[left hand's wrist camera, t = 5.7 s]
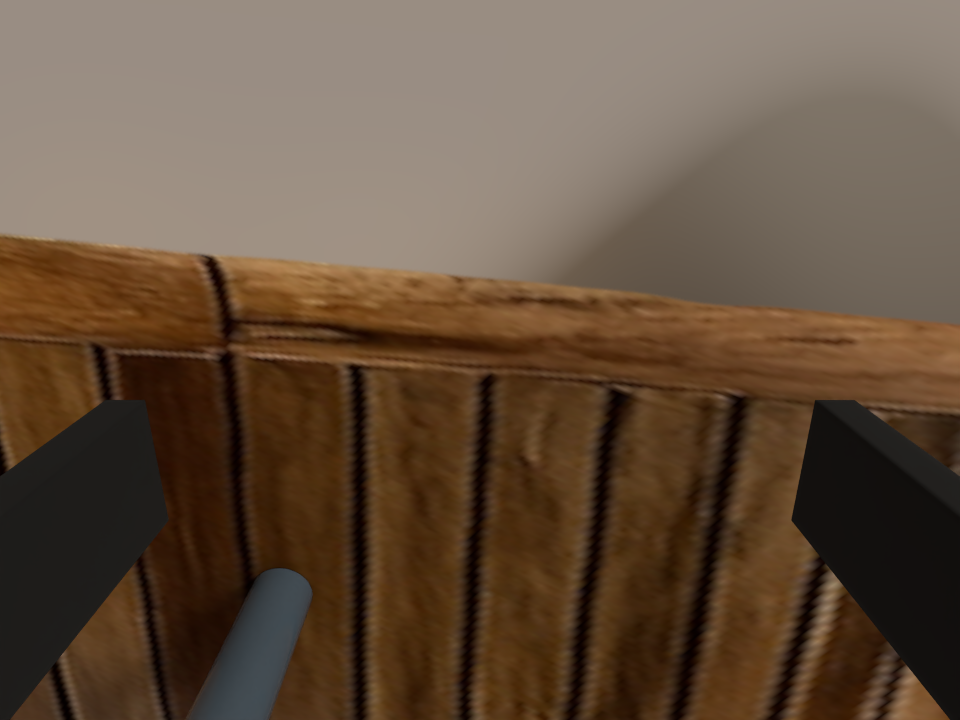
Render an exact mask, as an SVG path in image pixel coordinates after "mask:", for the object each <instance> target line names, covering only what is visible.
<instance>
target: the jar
mask: <svg viewBox="0 0 960 720" xmlns="http://www.w3.org/2000/svg"><path fill="white" fill-rule="evenodd" d="M311 601H312V589H311V587H310V585H309V583H308V582H307V580H306V579H305V578H304V577H303V576H301V575H300V574H298V573H297V572H295V571H292V570H289V569H284V568H275V569H270V570H267V571H265V572H263V573H261V574H260V575H259V576H258V577H257V578H256V579H255V581H254V583H253V585H252V587H251V589H250V591H249V593H248V595H247V597H246V599H245V601H244V603H243V605H242V607H241V609H240V611H239V613H238V615H237V617H236V619H235V621H234V623H233V625H232V627H231V629H230V631H229V633H228V635H227V637H226V639H225V641H224V643H223V645H222V647H221V649H220V651H219V653H218V655H217V657H216V659H215V661H214V663H213V665H212V667H211V669H210V671H209V673H208V675H207V677H206V679H205V681H204V683H203V685H202V687H201V689H200V691H199V693H198V695H197V697H196V699H195V701H194V703H193V705H192V707H191V709H190V711H189V713H188V715H187V717H186V719H185V720H269V719H270V716H271V714H272V711H273V708H274V705H275V702H276V699H277V697H278V694H279V691H280V688H281V685H282V683H283V680H284V677H285V674H286V671H287V669H288V666H289V663H290V660H291V657H292V655H293V652H294V649H295V646H296V643H297V641H298V638H299V635H300V632H301V629H302V627H303V624H304V621H305V618H306V615H307V613H308V610H309V607H310V604H311Z"/></svg>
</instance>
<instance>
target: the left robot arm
mask: <svg viewBox="0 0 960 720" xmlns="http://www.w3.org/2000/svg"><path fill="white" fill-rule="evenodd" d="M167 522H168V515H167V510H166V505H165V500H164V495H163V490H162V485H161V480H160V474H159V469H158V464H157V459H156V454H155V449H154V444H153V439H152V434H151V429H150V424H149V419H148V414H147V409H146V404H145V400H105V401H104V402H102V403H101V404H100V405H98V406H97V407H96V408H94V409H93V410H91V411H90V412H89V413H87V414H86V415H84V416H83V417H82V418H80V419H79V420H78V421H76V422H75V423H73V424H72V425H71V426H69V427H68V428H67V429H65V430H64V431H62V432H61V433H60V434H58V435H57V436H55V437H54V438H53V439H51V440H50V441H49V442H47V443H46V444H44V445H43V446H42V447H40V448H39V449H38V450H36V451H35V452H33V453H32V454H31V455H29V456H28V457H26V458H25V459H24V460H22V461H21V462H20V463H18V464H17V465H15V466H14V467H13V468H11V469H10V470H9V471H7V472H6V473H4V474H3V475H2V476H0V720H10V719H11V718H12V716H13V715H14V714H15V712H16V711H17V710H18V709H19V707H20V706H21V705H22V704H23V702H24V701H25V700H26V699H27V697H28V696H29V695H30V694H31V692H32V691H33V690H34V689H35V687H36V686H37V685H38V684H39V682H40V681H41V680H42V679H43V677H44V676H45V675H46V674H47V672H48V671H49V670H50V669H51V667H52V666H53V665H54V664H55V662H56V661H57V660H58V658H59V657H60V656H61V655H62V653H63V652H64V651H65V650H66V648H67V647H68V646H69V645H70V643H71V642H72V641H73V640H74V638H75V637H76V636H77V635H78V633H79V632H80V631H81V630H82V628H83V627H84V626H85V625H86V623H87V622H88V621H89V620H90V618H91V617H92V616H93V615H94V613H95V612H96V611H97V609H98V608H99V607H100V606H101V604H102V603H103V602H104V601H105V599H106V598H107V597H108V596H109V594H110V593H111V592H112V591H113V589H114V588H115V587H116V586H117V584H118V583H119V582H120V581H121V579H122V578H123V577H124V576H125V574H126V573H127V572H128V571H129V569H130V568H131V567H132V566H133V564H134V563H135V562H136V561H137V559H138V558H139V557H140V555H141V554H142V553H143V552H144V550H145V549H146V548H147V547H148V545H149V544H150V543H151V542H152V540H153V539H154V538H155V537H156V535H157V534H158V533H159V532H160V530H161V529H162V528H163V527H164V525H165V524H166V523H167ZM792 522H793V523H794V524H795V525H796V527H797V528H798V529H799V530H800V532H801V533H802V534H803V535H804V537H805V538H806V539H807V540H808V542H809V543H810V544H811V545H812V547H813V548H814V549H815V550H816V552H817V553H818V554H819V555H820V557H821V558H822V559H823V561H824V562H825V563H826V564H827V566H828V567H829V568H830V569H831V571H832V572H833V573H834V574H835V576H836V577H837V578H838V579H839V581H840V582H841V583H842V584H843V586H844V587H845V588H846V589H847V591H848V592H849V593H850V594H851V596H852V597H853V598H854V599H855V601H856V602H857V603H858V604H859V606H860V607H861V608H862V610H863V611H864V612H865V613H866V615H867V616H868V617H869V618H870V620H871V621H872V622H873V623H874V625H875V626H876V627H877V628H878V630H879V631H880V632H881V633H882V635H883V636H884V637H885V638H886V640H887V641H888V642H889V643H890V645H891V646H892V647H893V648H894V650H895V651H896V652H897V653H898V655H899V656H900V657H901V658H902V660H903V661H904V662H905V664H906V665H907V666H908V667H909V669H910V670H911V671H912V672H913V674H914V675H915V676H916V677H917V679H918V680H919V681H920V682H921V684H922V685H923V686H924V687H925V689H926V690H927V691H928V692H929V694H930V695H931V696H932V697H933V699H934V700H935V701H936V702H937V704H938V705H939V706H940V707H941V709H942V710H943V711H944V712H945V714H946V715H947V716H948V718H949V719H950V720H960V476H958V475H957V474H956V473H954V472H953V471H951V470H950V469H949V468H947V467H946V466H945V465H943V464H942V463H940V462H939V461H938V460H936V459H935V458H934V457H932V456H931V455H929V454H928V453H927V452H925V451H924V450H922V449H921V448H920V447H918V446H917V445H916V444H914V443H913V442H911V441H910V440H909V439H907V438H906V437H905V436H903V435H902V434H900V433H899V432H898V431H896V430H895V429H893V428H892V427H891V426H889V425H888V424H887V423H885V422H884V421H882V420H881V419H880V418H878V417H877V416H876V415H874V414H873V413H871V412H870V411H869V410H867V409H866V408H864V407H863V406H862V405H860V404H859V403H858V402H856V401H855V400H815V404H814V409H813V414H812V419H811V424H810V429H809V434H808V439H807V444H806V449H805V454H804V459H803V464H802V469H801V474H800V480H799V485H798V490H797V495H796V500H795V505H794V510H793V515H792Z"/></svg>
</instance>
